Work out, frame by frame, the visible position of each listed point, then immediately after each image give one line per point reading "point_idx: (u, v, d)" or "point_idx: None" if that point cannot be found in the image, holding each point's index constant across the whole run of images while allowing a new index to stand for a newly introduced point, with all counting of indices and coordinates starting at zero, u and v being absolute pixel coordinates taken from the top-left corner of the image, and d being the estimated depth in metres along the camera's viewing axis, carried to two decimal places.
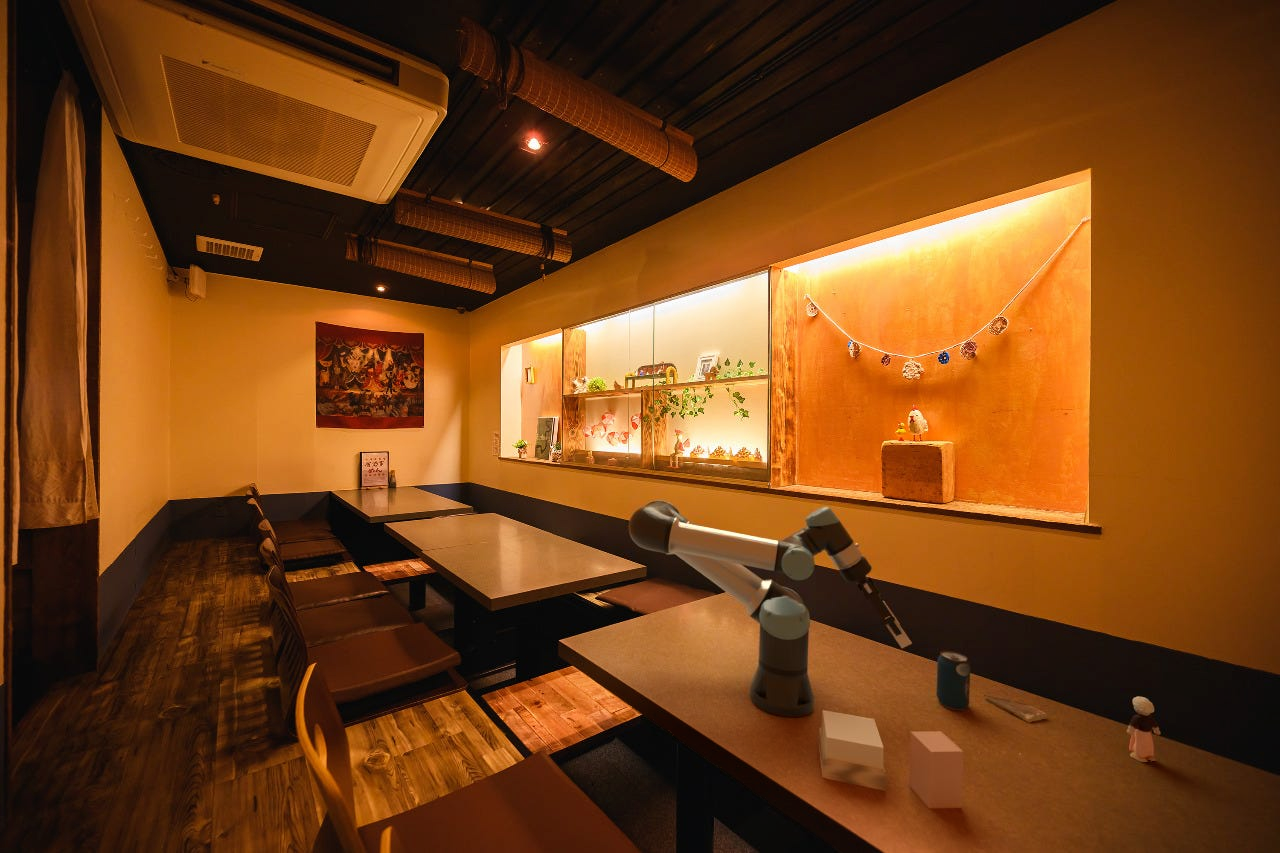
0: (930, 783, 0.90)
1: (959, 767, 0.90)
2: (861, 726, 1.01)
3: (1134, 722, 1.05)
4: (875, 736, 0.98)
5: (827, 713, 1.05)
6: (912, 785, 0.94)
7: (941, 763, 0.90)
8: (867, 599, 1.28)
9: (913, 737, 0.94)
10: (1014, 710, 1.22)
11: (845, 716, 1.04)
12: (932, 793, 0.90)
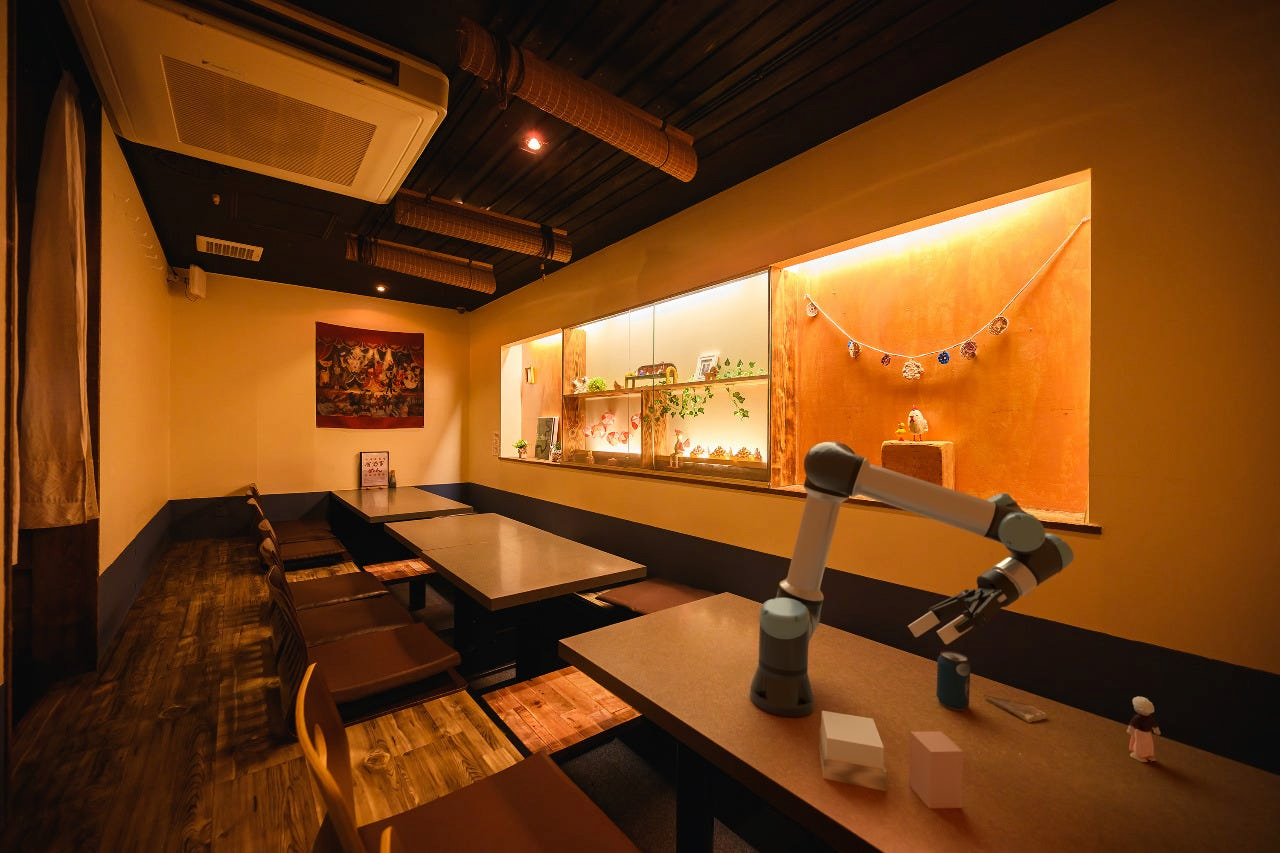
0: (930, 783, 0.90)
1: (959, 767, 0.90)
2: (861, 726, 1.01)
3: (1134, 722, 1.05)
4: (875, 736, 0.98)
5: (826, 714, 1.05)
6: (912, 785, 0.94)
7: (941, 763, 0.90)
8: (974, 598, 1.07)
9: (913, 737, 0.94)
10: (1014, 710, 1.22)
11: (844, 717, 1.04)
12: (932, 793, 0.90)
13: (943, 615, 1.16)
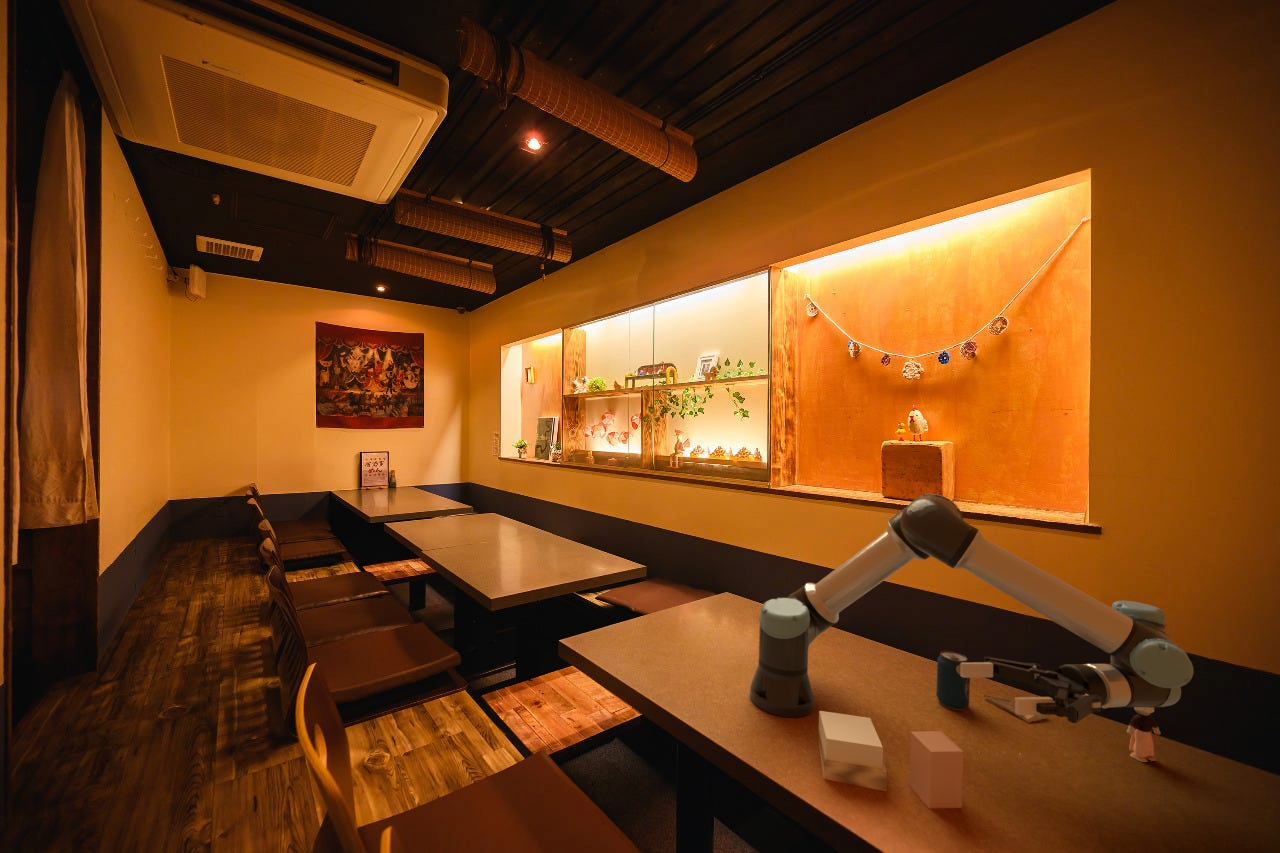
0: (930, 783, 0.90)
1: (959, 767, 0.90)
2: (859, 726, 1.01)
3: (1134, 722, 1.05)
4: (873, 736, 0.98)
5: (824, 714, 1.05)
6: (912, 785, 0.94)
7: (941, 763, 0.90)
8: (1063, 685, 0.94)
9: (913, 737, 0.94)
10: (1014, 710, 1.22)
11: (842, 716, 1.04)
12: (932, 793, 0.90)
13: (1000, 673, 1.03)
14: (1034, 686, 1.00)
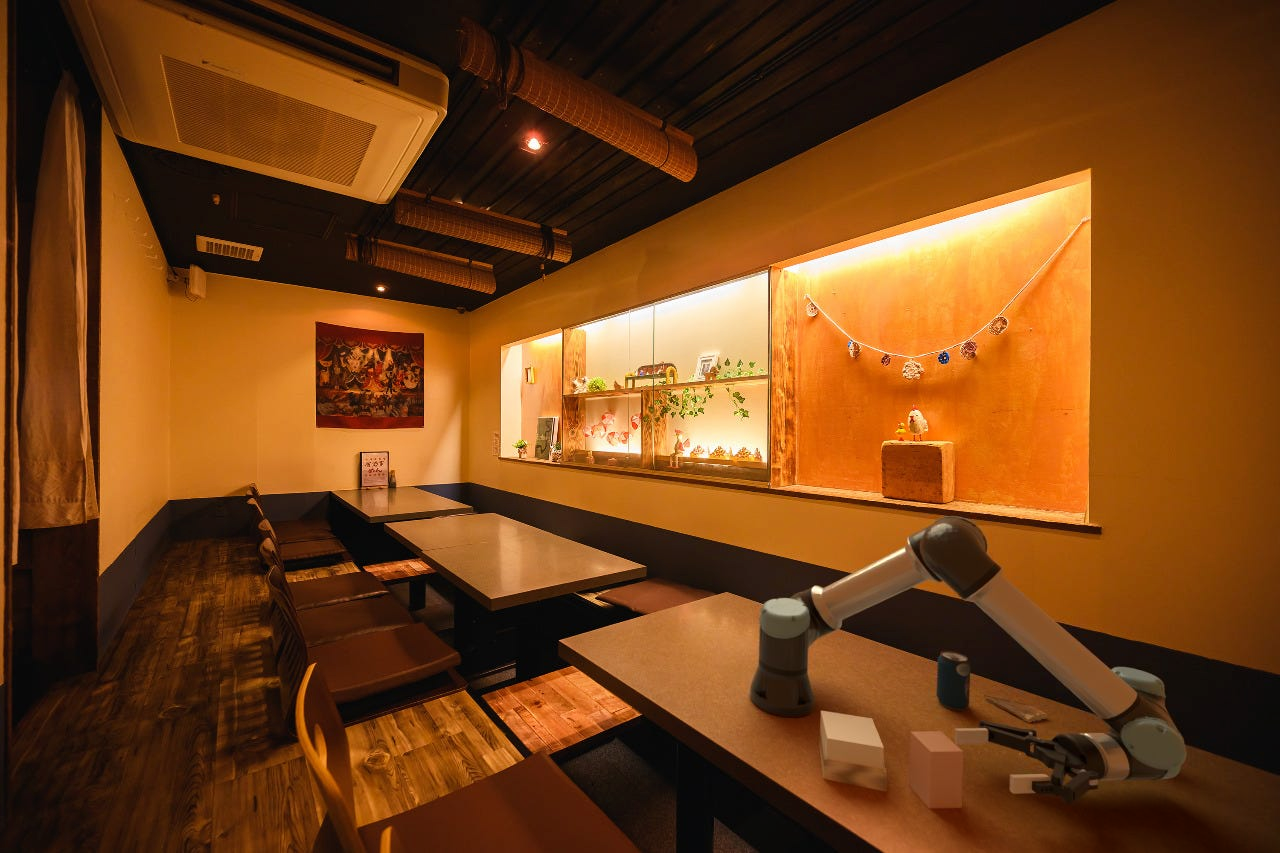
0: (930, 783, 0.90)
1: (959, 767, 0.90)
2: (860, 726, 1.01)
3: None
4: (874, 736, 0.98)
5: (825, 714, 1.05)
6: (912, 785, 0.94)
7: (941, 763, 0.90)
8: (1059, 759, 0.91)
9: (913, 737, 0.94)
10: (1014, 710, 1.22)
11: (844, 716, 1.04)
12: (932, 793, 0.90)
13: (996, 740, 1.00)
14: (1030, 755, 0.97)
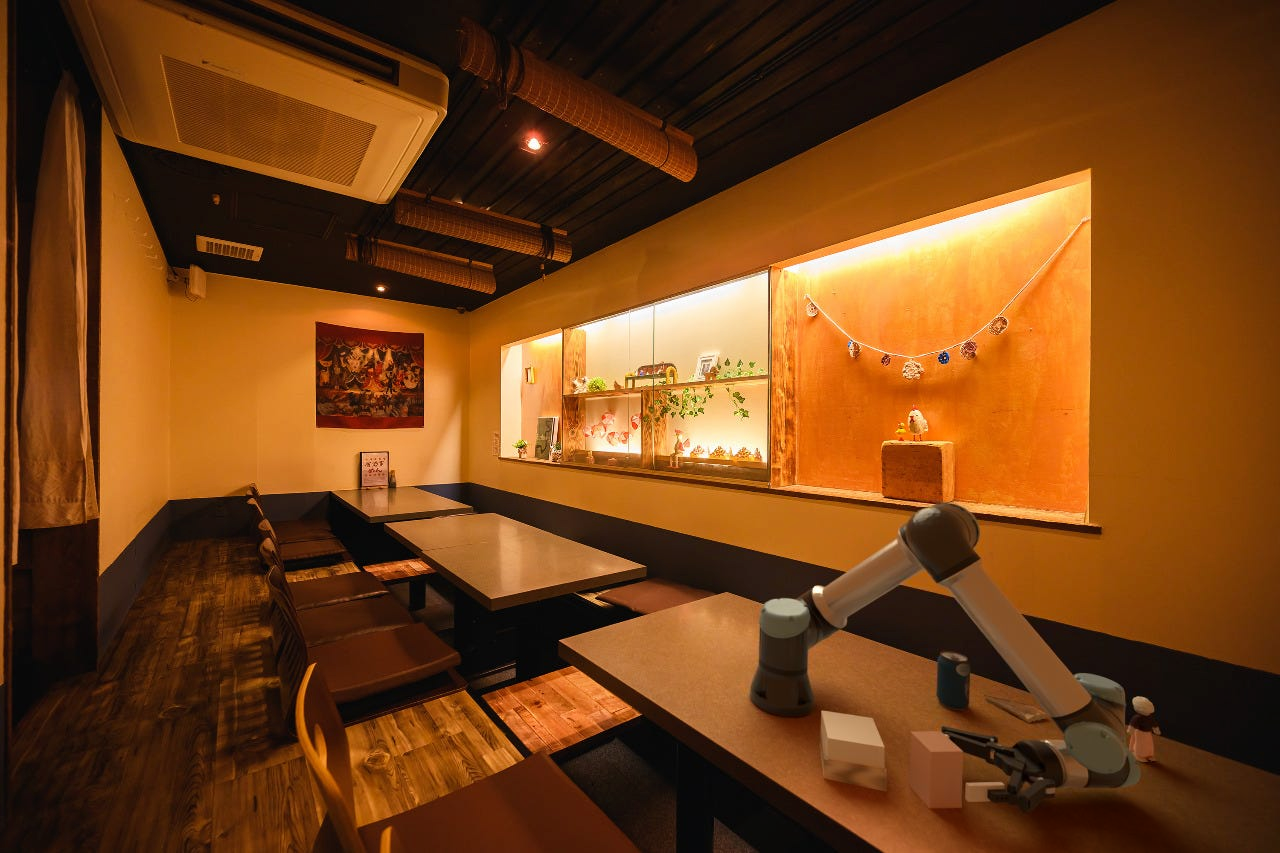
0: (930, 783, 0.90)
1: (959, 767, 0.90)
2: (861, 726, 1.01)
3: (1134, 722, 1.05)
4: (875, 736, 0.98)
5: (826, 714, 1.05)
6: (912, 785, 0.94)
7: (941, 763, 0.90)
8: (1017, 767, 0.90)
9: (913, 737, 0.94)
10: (1014, 710, 1.22)
11: (844, 716, 1.04)
12: (932, 793, 0.90)
13: None
14: (990, 762, 0.96)
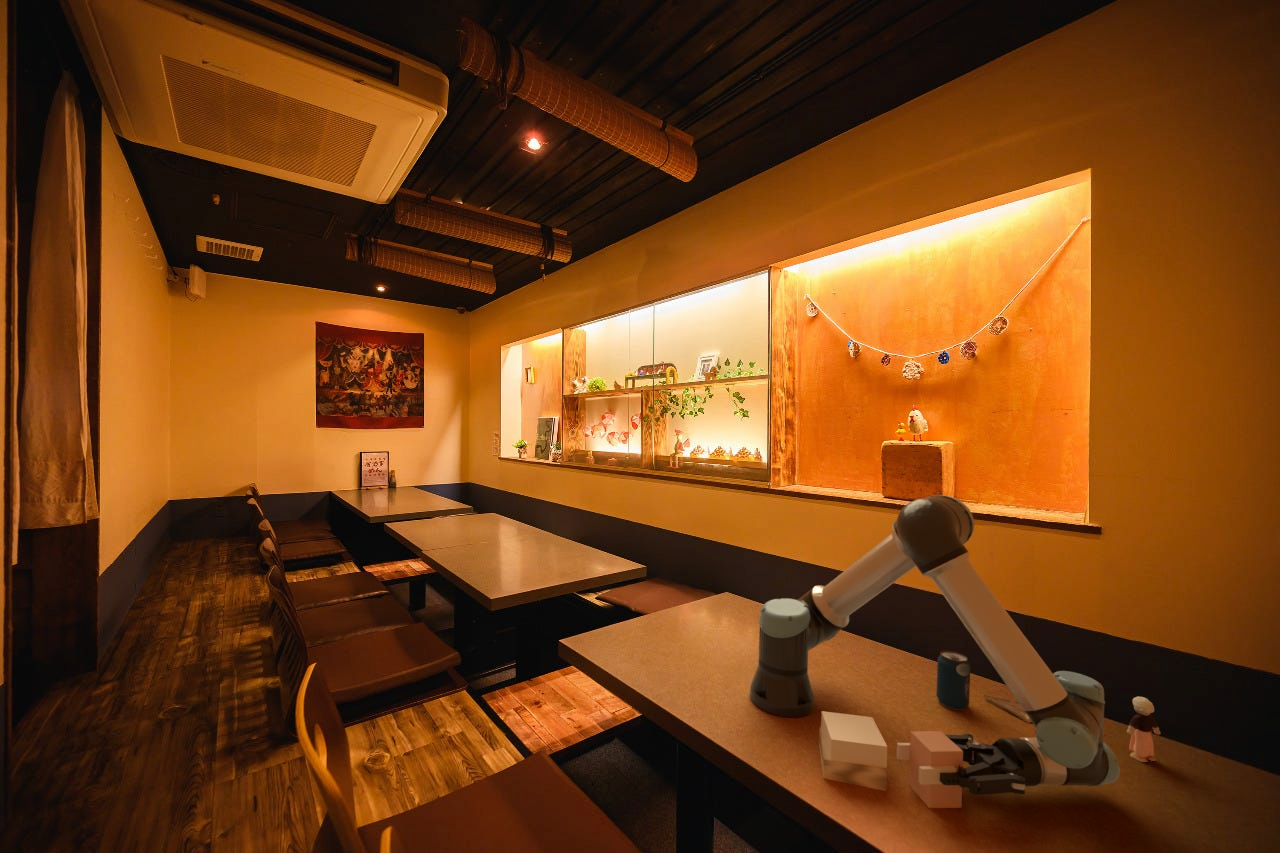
0: None
1: None
2: (862, 725, 1.01)
3: (1134, 722, 1.05)
4: (877, 735, 0.98)
5: (826, 714, 1.05)
6: (911, 785, 0.94)
7: (941, 762, 0.90)
8: (987, 760, 0.91)
9: (913, 736, 0.94)
10: (1014, 710, 1.22)
11: (845, 716, 1.04)
12: (932, 792, 0.90)
13: None
14: (972, 764, 0.95)
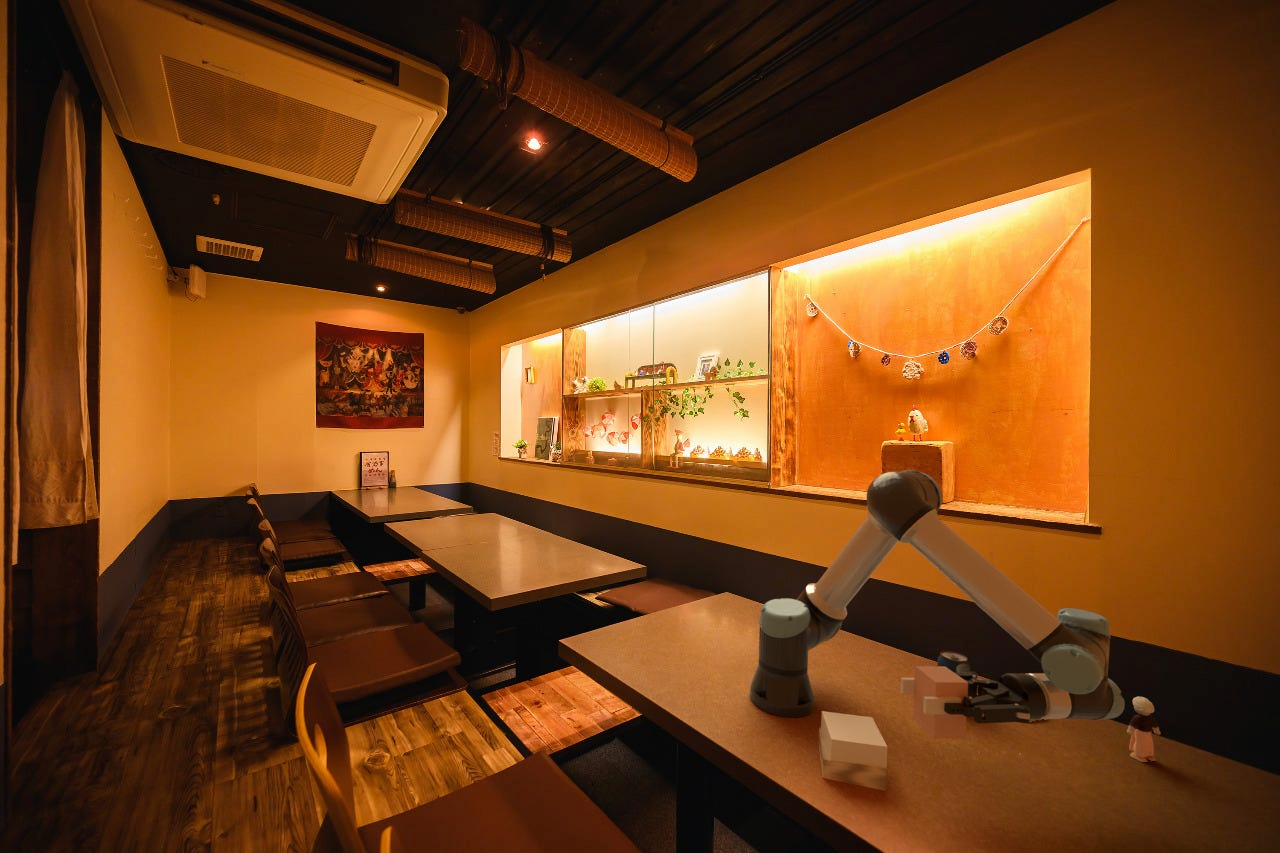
0: None
1: None
2: (862, 726, 1.01)
3: (1134, 722, 1.05)
4: (877, 736, 0.98)
5: (826, 714, 1.05)
6: (916, 719, 0.94)
7: (945, 693, 0.90)
8: (992, 692, 0.91)
9: (918, 671, 0.94)
10: None
11: (845, 716, 1.04)
12: (937, 723, 0.89)
13: None
14: None
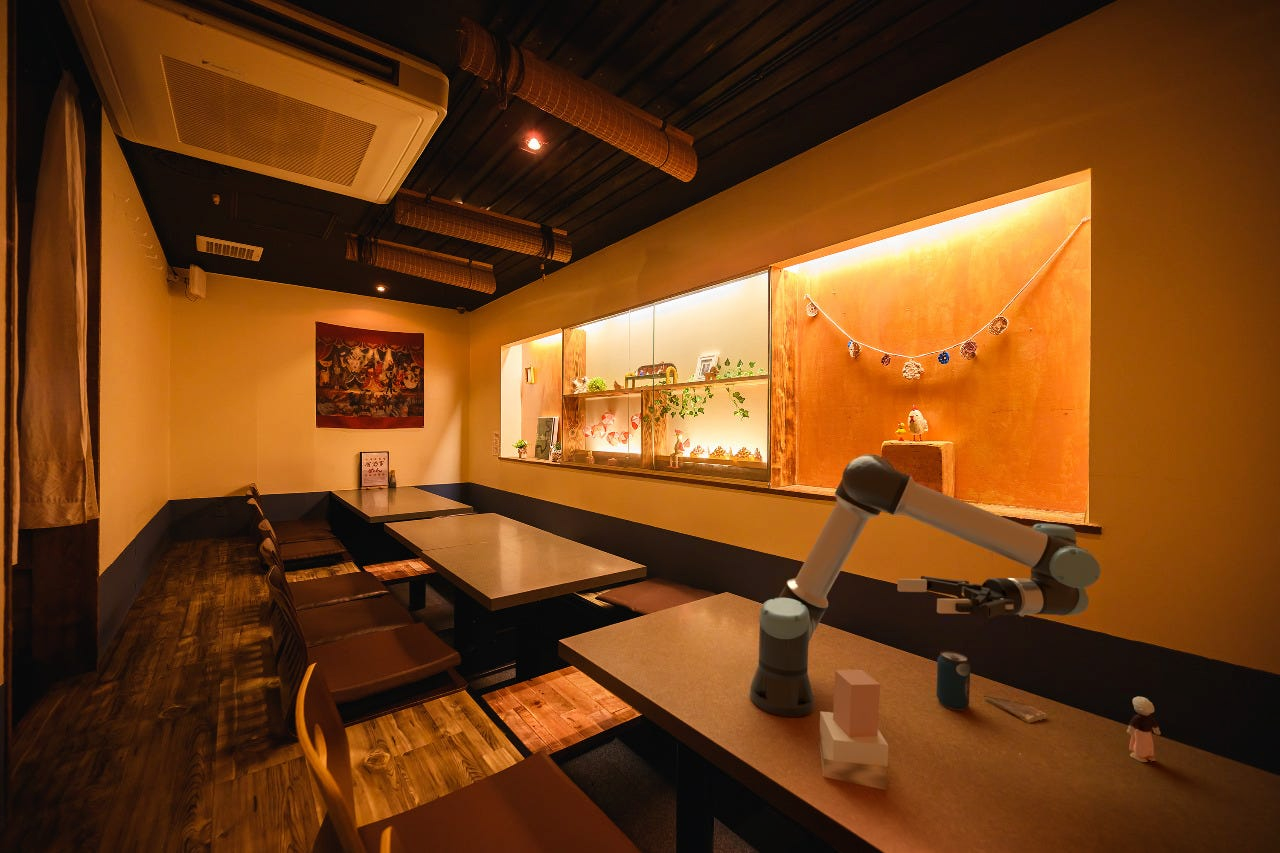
0: (850, 713, 0.97)
1: (876, 698, 0.98)
2: None
3: (1134, 722, 1.05)
4: None
5: (825, 715, 1.05)
6: (835, 719, 1.02)
7: (860, 695, 0.98)
8: (983, 592, 1.06)
9: (837, 674, 1.02)
10: (1014, 711, 1.21)
11: None
12: (852, 722, 0.97)
13: (933, 588, 1.15)
14: (961, 598, 1.12)
